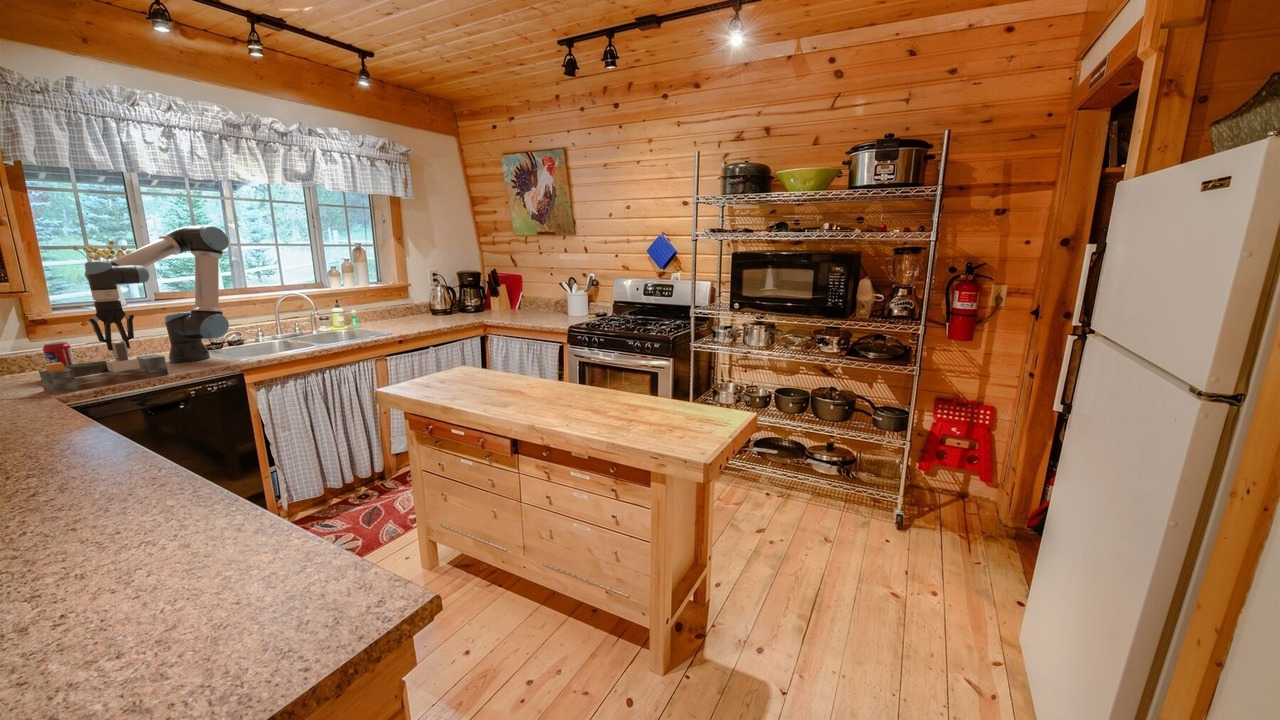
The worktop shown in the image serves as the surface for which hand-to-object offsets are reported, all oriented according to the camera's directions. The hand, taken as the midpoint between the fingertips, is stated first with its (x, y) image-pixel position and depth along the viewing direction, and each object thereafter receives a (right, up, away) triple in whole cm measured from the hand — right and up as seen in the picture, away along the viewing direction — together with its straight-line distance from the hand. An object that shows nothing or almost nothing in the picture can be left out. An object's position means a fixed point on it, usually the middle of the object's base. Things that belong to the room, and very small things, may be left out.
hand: (121, 357), depth 209 cm
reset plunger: (-9, -7, -15) cm, 19 cm away
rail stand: (-2, -10, -2) cm, 11 cm away
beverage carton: (-22, -9, +6) cm, 25 cm away
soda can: (-34, -9, +9) cm, 36 cm away
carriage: (0, -5, +1) cm, 5 cm away
